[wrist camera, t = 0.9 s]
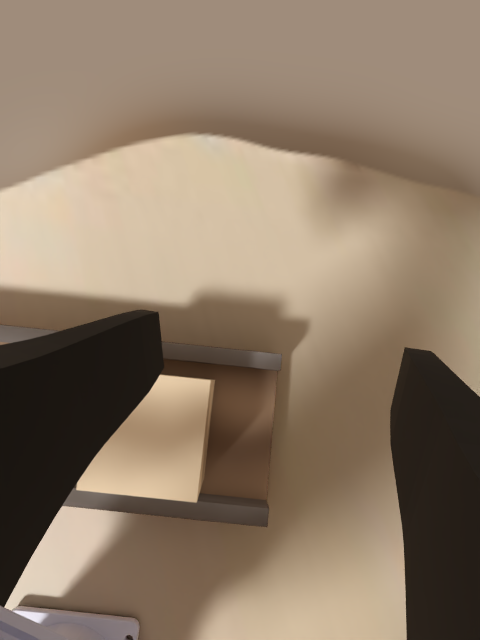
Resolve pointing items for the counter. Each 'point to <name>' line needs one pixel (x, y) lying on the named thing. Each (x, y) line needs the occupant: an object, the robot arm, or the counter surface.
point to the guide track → (210, 435)
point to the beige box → (158, 444)
